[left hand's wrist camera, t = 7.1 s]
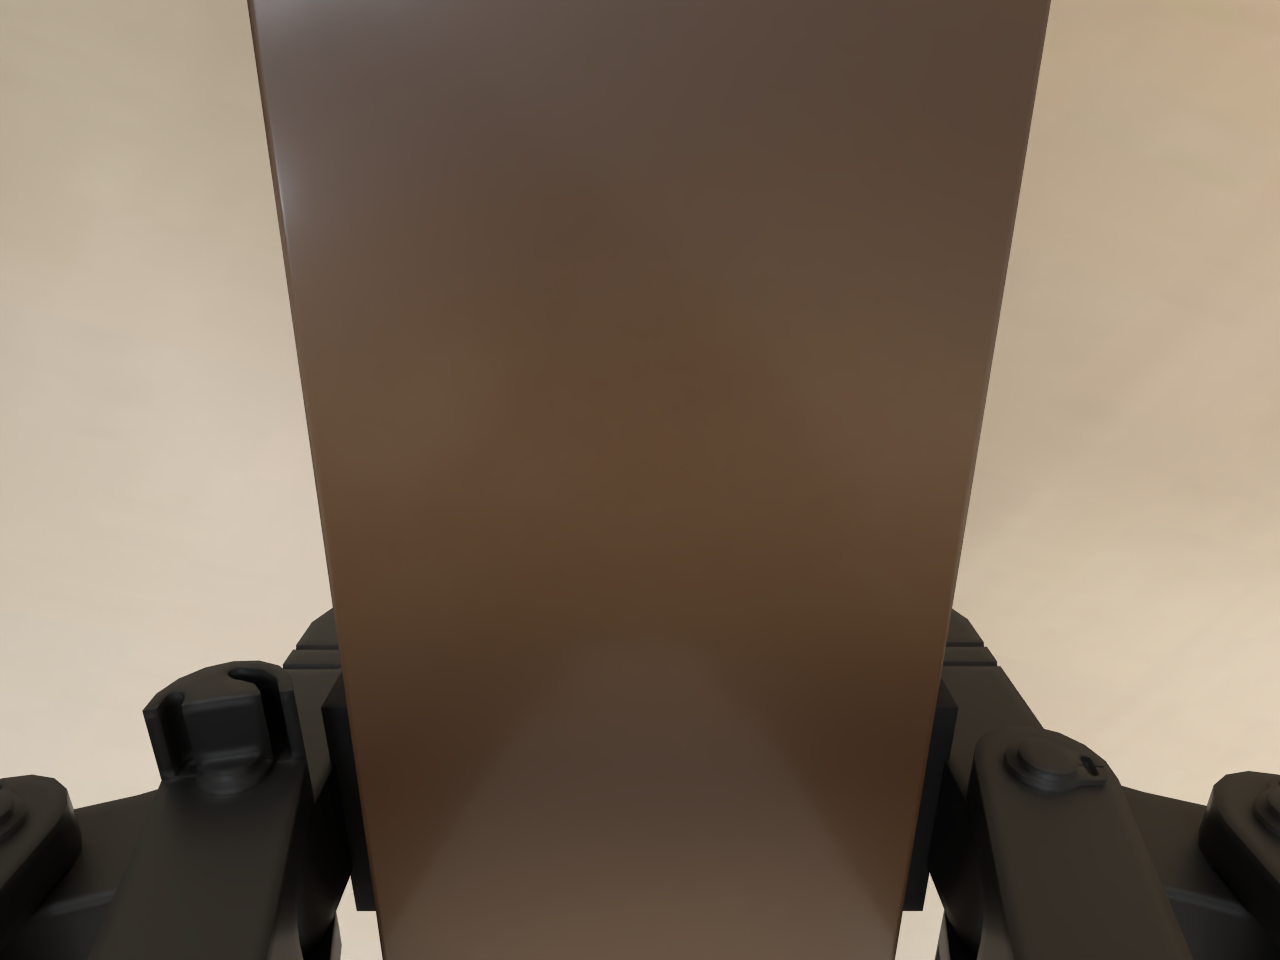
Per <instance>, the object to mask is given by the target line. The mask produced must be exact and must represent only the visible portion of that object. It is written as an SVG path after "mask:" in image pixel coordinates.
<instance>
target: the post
mask: <svg viewBox="0 0 1280 960" xmlns="http://www.w3.org/2000/svg"><path fill="white" fill-rule="evenodd" d="M247 3H248V10H249V17H250V24H251V31H252V38H253V45H254V52H255V59H256V66H257V73H258V80H259V88H260V95H261V102H262V109H263V116H264V123H265V130H266V137H267V144H268V151H269V158H270V165H271V172H272V179H273V187H274V194H275V201H276V208H277V215H278V222H279V229H280V236H281V243H282V250H283V257H284V264H285V271H286V278H287V286H288V293H289V300H290V307H291V314H292V321H293V328H294V335H295V342H296V349H297V356H298V363H299V370H300V377H301V384H302V392H303V399H304V406H305V413H306V420H307V427H308V434H309V441H310V448H311V455H312V462H313V469H314V476H315V483H316V491H317V498H318V505H319V512H320V519H321V526H322V533H323V540H324V547H325V554H326V561H327V568H328V575H329V582H330V590H331V597H332V604H333V611H334V618H335V625H336V632H337V639H338V646H339V653H340V660H341V667H342V674H343V681H344V689H345V696H346V703H347V710H348V717H349V724H350V731H351V738H352V745H353V752H354V759H355V766H356V773H357V780H358V787H359V795H360V802H361V809H362V816H363V823H364V830H365V837H366V844H367V851H368V858H369V865H370V872H371V879H372V886H373V894H374V901H375V908H376V915H377V922H378V929H379V936H380V943H381V950H382V957H383V960H895V955H896V949H897V943H898V936H899V930H900V924H901V918H902V912H903V906H904V900H905V893H906V887H907V881H908V875H909V869H910V863H911V857H912V850H913V844H914V838H915V832H916V826H917V820H918V814H919V807H920V801H921V795H922V789H923V783H924V777H925V771H926V764H927V758H928V752H929V746H930V740H931V734H932V728H933V721H934V715H935V709H936V703H937V697H938V691H939V685H940V678H941V672H942V666H943V660H944V654H945V648H946V642H947V635H948V629H949V623H950V617H951V611H952V605H953V599H954V592H955V586H956V580H957V574H958V568H959V562H960V556H961V549H962V543H963V537H964V531H965V525H966V519H967V513H968V506H969V500H970V494H971V488H972V482H973V476H974V470H975V463H976V457H977V451H978V445H979V439H980V433H981V427H982V420H983V414H984V408H985V402H986V396H987V390H988V384H989V377H990V371H991V365H992V359H993V353H994V347H995V341H996V334H997V328H998V322H999V316H1000V310H1001V304H1002V298H1003V291H1004V285H1005V279H1006V273H1007V267H1008V261H1009V255H1010V248H1011V242H1012V236H1013V230H1014V224H1015V218H1016V212H1017V205H1018V199H1019V193H1020V187H1021V181H1022V175H1023V169H1024V162H1025V156H1026V150H1027V144H1028V138H1029V132H1030V126H1031V119H1032V113H1033V107H1034V101H1035V95H1036V89H1037V83H1038V76H1039V70H1040V64H1041V58H1042V52H1043V46H1044V40H1045V33H1046V27H1047V21H1048V15H1049V9H1050V3H1051V0H247Z"/></svg>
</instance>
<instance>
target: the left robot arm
mask: <svg viewBox="0 0 1280 960" xmlns="http://www.w3.org/2000/svg"><path fill="white" fill-rule="evenodd" d="M143 715H144V718H145V722H146V726H147V729H148V733H149V736H150V740H151V744H152V747H153V751H154V754H155V758H156V762H157V765H158V769H159V772H160V776H161V780H162V781H161V784H160V786H159V788H158V790H154V791H151V792H147V793H144V794H140V795H137V796H132V797H128V798H123V799H119V800H114V801H110V802H105V803H101V804H96V805H92V806H87V807H83V808H78V809H73V806H72V803H71V800H70V797H69V794H68V791H67V789H66V788H65V787H64V786H63V785H62V784H60V783H59V782H58V781H57V780H56V779H54V778H49V777H43V776H37V775H26V776H18V777H10V778H2V779H0V960H340V956H341V946H342V945H341V938H340V931H339V924H338V919H337V914H336V910H337V907H338V905H339V902H340V900H341V897H342V895H343V892H344V890H345V887H346V885H347V882H348V880H349V877H350V875H351V880H352V886H353V892H354V897H355V903H356V909H357V911H376V908H375V901H374V894H373V886H372V879H371V872H370V865H369V858H368V851H367V844H366V837H365V830H364V823H363V816H362V809H361V802H360V795H359V787H358V780H357V773H356V766H355V759H354V752H353V745H352V738H351V731H350V724H349V717H348V710H347V703H346V696H345V689H344V681H343V674H342V667H341V660H340V653H339V646H338V639H337V632H336V625H335V618H334V611H333V608H332V609H330V610H329V611H328V612H326V613H325V614H323V615H322V616H320V617H319V618H317V619H316V620H315V621H313V622H312V623H311V625H310V626H309V628H308V629H307V630H306V632H305V633H304V635H303V636H302V638H301V639H300V641H299V642H298V643H297V645H296V650H293V651H292V652H291V654H290V655H289V656H288V658H287V659H286V661H285V662H284V664H283V669H282V668H281V667H280V666H278V665H274V664H270V663H266V662H262V661H233V662H228V663H224V664H219V665H215V666H210V667H206V668H203V669H201V670H199V671H196V672H194V673H191V674H189V675H187V676H184V677H182V678H179V679H178V680H176V681H175V682H173V683H172V684H170V685H169V686H167V687H166V688H164V689H163V690H161V691H160V692H158V693H157V694H156V695H155V696H154V697H153V699H152V700H151V701H150V702H149V703H148V705H147V706H146V707H145V708H144V710H143ZM929 872H930V874H931V877H932V879H933V882H934V884H935V887H936V889H937V892H938V894H939V897H940V899H941V902H942V904H943V907H944V914H943V919H942V925H941V930H940V935H939V940H938V945H937V951H936V956H935V960H1280V775H1276V774H1268V773H1260V772H1252V771H1246V772H1240V773H1233V774H1227V775H1225V776H1224V777H1223V778H1222V779H1221V780H1219V781H1218V782H1217V783H1216V784H1215V785H1214V786H1213V789H1212V792H1211V795H1210V798H1209V801H1208V804H1207V806H1204V805H1200V804H1195V803H1191V802H1186V801H1182V800H1177V799H1173V798H1168V797H1163V796H1159V795H1154V794H1150V793H1145V792H1141V791H1138V790H1134V789H1131V788H1127V787H1124V786H1121V784H1120V782H1119V780H1118V778H1117V777H1116V775H1115V774H1114V772H1113V771H1112V770H1111V768H1110V767H1109V765H1108V764H1107V762H1106V761H1105V760H1103V759H1102V758H1101V757H1100V756H1098V755H1097V754H1096V753H1094V752H1093V751H1092V750H1091V749H1089V748H1088V747H1087V746H1085V745H1084V744H1082V743H1079V742H1077V741H1075V740H1073V739H1071V738H1069V737H1067V736H1065V735H1063V734H1061V733H1058V732H1054V731H1050V730H1046V729H1044V728H1043V727H1042V725H1041V724H1040V723H1039V721H1038V720H1037V718H1036V717H1035V715H1034V714H1033V712H1032V711H1031V710H1030V708H1029V707H1028V705H1027V704H1026V702H1025V701H1024V700H1023V698H1022V697H1021V695H1020V694H1019V692H1018V691H1017V689H1016V688H1015V687H1014V685H1013V684H1012V682H1011V681H1010V679H1009V678H1008V677H1007V675H1006V674H1005V672H1004V671H1003V669H1002V668H1001V666H997V661H996V659H995V658H994V656H993V655H992V654H991V652H990V651H989V649H988V648H987V647H984V642H983V641H982V639H981V638H980V636H979V635H978V633H977V632H976V631H975V629H974V628H973V626H972V625H971V623H970V622H969V621H968V619H966V618H965V617H963V616H962V615H961V614H959V613H958V612H956V611H955V610H953V609H952V611H951V617H950V623H949V629H948V635H947V642H946V648H945V654H944V660H943V666H942V672H941V678H940V685H939V691H938V697H937V703H936V709H935V715H934V721H933V728H932V734H931V740H930V746H929V752H928V758H927V764H926V771H925V777H924V783H923V789H922V795H921V801H920V807H919V814H918V820H917V826H916V832H915V838H914V844H913V850H912V857H911V863H910V869H909V875H908V881H907V887H906V893H905V900H904V906H903V911H923V906H924V900H925V894H926V889H927V883H928V877H929Z"/></svg>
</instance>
